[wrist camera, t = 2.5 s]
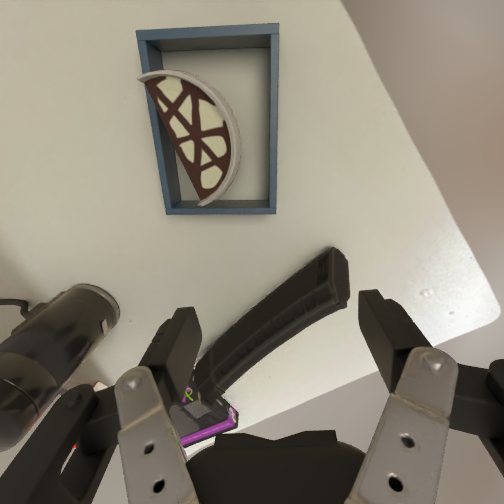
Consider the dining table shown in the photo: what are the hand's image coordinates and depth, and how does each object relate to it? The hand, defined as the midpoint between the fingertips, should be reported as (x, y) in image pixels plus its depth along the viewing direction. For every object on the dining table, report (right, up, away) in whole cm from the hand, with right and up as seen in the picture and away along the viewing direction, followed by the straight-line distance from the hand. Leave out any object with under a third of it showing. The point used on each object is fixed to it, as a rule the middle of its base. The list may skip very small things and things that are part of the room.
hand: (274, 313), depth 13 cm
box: (-15, -26, +40) cm, 50 cm away
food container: (-5, +18, +19) cm, 26 cm away
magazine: (+1, -6, +30) cm, 30 cm away
